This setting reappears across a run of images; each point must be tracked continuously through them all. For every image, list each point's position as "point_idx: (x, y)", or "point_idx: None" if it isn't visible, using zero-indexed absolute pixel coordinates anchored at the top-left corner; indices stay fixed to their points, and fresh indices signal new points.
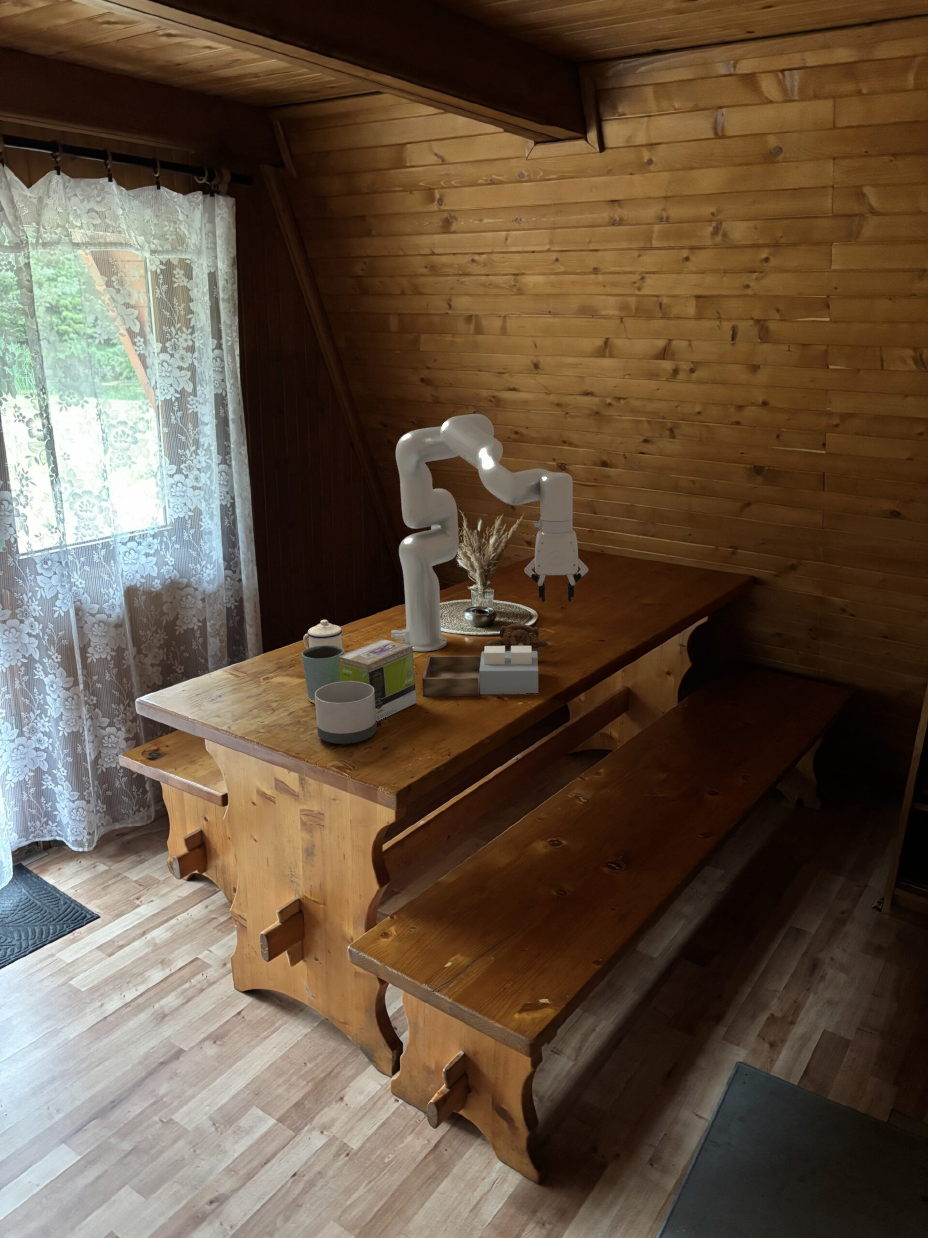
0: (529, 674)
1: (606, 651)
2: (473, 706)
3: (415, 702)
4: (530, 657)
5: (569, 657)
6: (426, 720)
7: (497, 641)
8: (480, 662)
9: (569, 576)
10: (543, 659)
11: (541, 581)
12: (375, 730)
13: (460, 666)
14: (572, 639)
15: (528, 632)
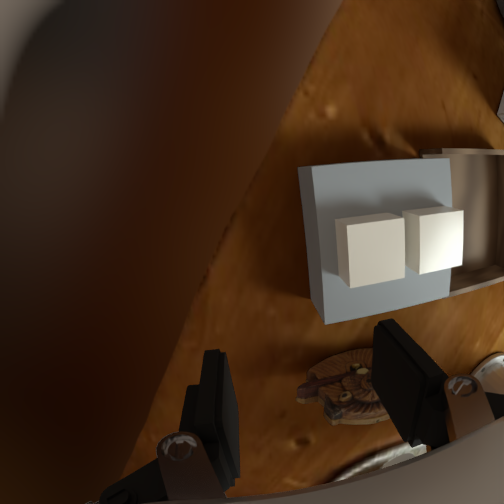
0: (332, 164)
1: (178, 424)
2: (417, 94)
3: (498, 111)
4: (344, 221)
5: (246, 394)
6: (465, 44)
7: None
8: None
9: (206, 498)
10: (301, 377)
11: (462, 401)
12: (498, 1)
13: (463, 277)
14: (250, 462)
15: (352, 400)
